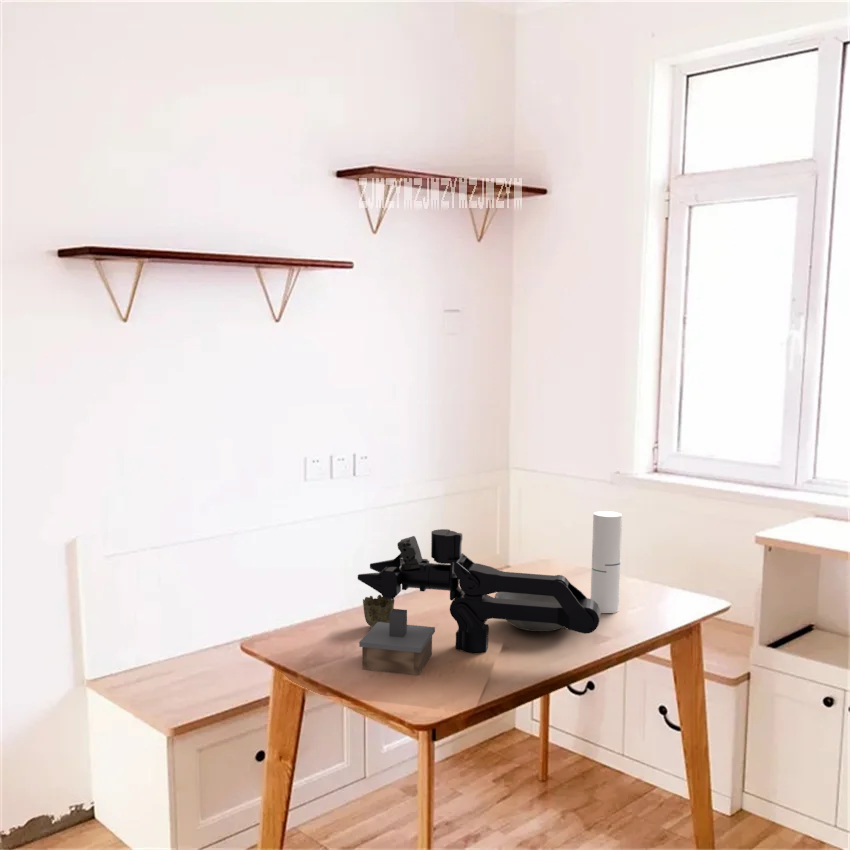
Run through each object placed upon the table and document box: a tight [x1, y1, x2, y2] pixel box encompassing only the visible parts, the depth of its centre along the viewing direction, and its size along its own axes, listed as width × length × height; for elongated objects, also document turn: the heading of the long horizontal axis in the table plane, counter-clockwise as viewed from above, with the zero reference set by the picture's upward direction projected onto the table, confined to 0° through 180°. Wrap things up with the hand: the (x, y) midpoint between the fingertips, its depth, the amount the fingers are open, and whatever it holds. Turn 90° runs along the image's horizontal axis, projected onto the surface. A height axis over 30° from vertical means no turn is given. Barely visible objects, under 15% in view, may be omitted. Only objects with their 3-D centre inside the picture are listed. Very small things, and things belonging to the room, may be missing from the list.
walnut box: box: [361, 636, 433, 677], centre depth 188 cm, size 12×12×6 cm
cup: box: [362, 594, 395, 630], centre depth 208 cm, size 8×7×8 cm
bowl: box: [494, 592, 564, 632], centre depth 213 cm, size 21×21×8 cm
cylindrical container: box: [590, 510, 623, 614], centre depth 226 cm, size 7×7×25 cm
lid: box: [358, 608, 436, 653], centre depth 187 cm, size 13×13×6 cm
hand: (364, 571), depth 200 cm, fingers open, 9 cm apart
